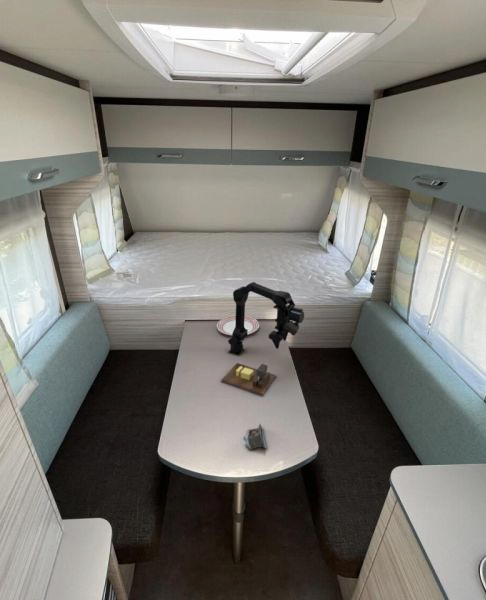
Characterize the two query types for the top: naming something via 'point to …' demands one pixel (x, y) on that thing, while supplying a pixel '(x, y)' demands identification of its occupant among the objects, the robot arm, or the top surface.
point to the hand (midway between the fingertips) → (280, 344)
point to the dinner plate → (229, 325)
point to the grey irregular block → (255, 438)
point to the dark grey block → (261, 371)
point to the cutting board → (250, 384)
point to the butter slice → (239, 371)
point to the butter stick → (247, 373)
